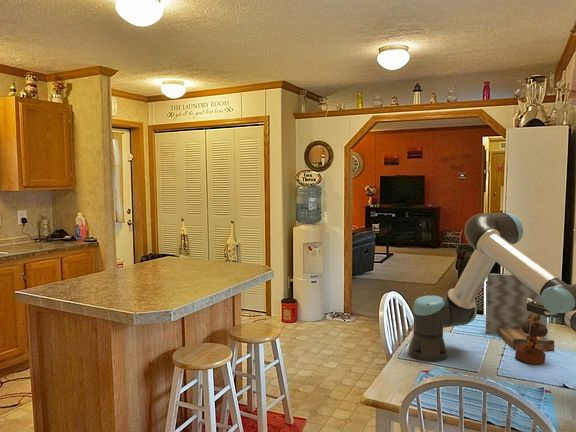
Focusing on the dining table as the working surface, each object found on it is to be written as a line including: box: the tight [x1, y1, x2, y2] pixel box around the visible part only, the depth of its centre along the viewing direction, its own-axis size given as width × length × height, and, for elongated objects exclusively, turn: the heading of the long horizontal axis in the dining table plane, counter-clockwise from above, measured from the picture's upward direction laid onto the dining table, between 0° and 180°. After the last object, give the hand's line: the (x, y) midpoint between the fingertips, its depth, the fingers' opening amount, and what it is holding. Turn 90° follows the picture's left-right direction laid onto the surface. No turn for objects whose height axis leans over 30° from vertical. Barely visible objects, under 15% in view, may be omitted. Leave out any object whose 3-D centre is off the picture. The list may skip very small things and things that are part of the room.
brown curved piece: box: [514, 313, 549, 365], centre depth 186 cm, size 15×11×20 cm
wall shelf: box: [485, 273, 555, 352], centre depth 205 cm, size 26×22×28 cm
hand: (547, 302), depth 173 cm, fingers open, 13 cm apart
